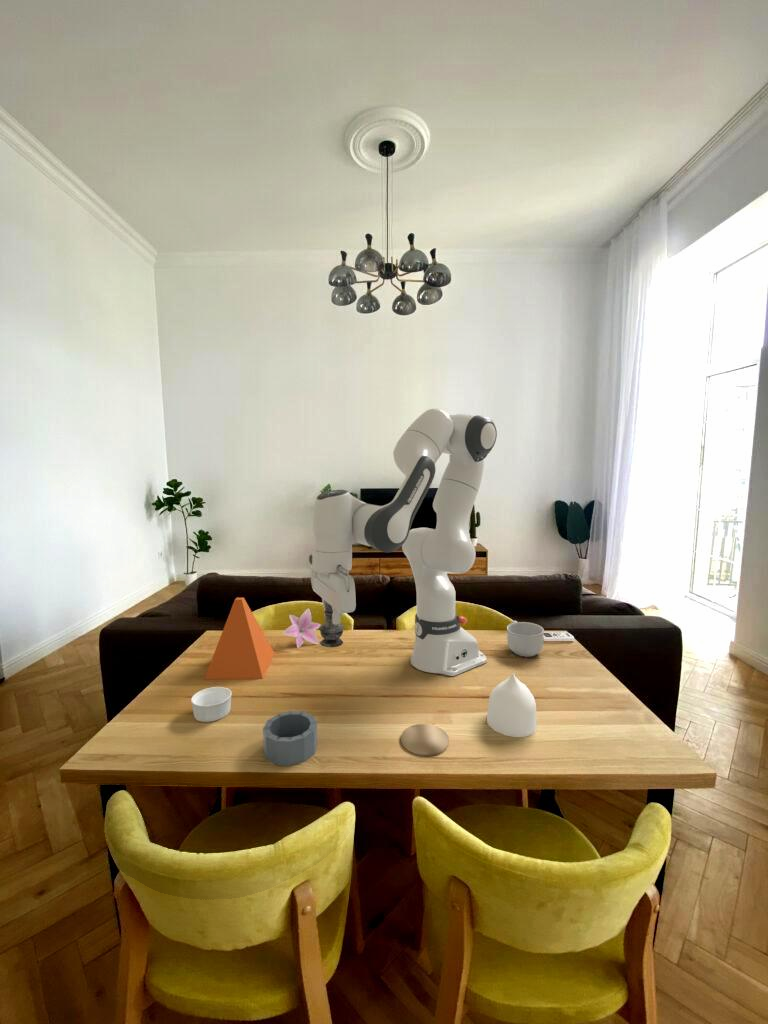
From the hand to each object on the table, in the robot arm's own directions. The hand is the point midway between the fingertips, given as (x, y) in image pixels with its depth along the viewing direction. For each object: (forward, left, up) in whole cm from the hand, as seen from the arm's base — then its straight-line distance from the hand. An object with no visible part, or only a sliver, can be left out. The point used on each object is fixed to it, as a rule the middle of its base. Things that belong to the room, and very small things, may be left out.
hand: (332, 620), depth 104 cm
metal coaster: (-13, +20, -22) cm, 32 cm away
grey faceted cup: (+13, +10, -22) cm, 27 cm away
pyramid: (+16, -33, -22) cm, 43 cm away
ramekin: (+26, -11, -22) cm, 36 cm away
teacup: (-64, -5, -22) cm, 68 cm away
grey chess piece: (0, 0, -6) cm, 6 cm away
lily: (-5, -42, -22) cm, 47 cm away
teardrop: (-34, +23, -22) cm, 47 cm away
